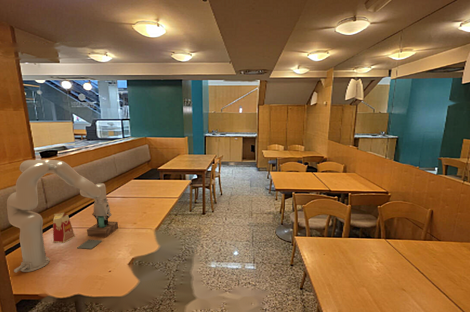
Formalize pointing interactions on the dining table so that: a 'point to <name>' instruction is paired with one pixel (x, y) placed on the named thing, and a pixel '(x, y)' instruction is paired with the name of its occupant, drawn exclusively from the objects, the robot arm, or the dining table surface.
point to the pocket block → (102, 229)
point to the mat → (89, 244)
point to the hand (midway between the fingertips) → (102, 223)
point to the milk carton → (62, 228)
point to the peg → (101, 222)
